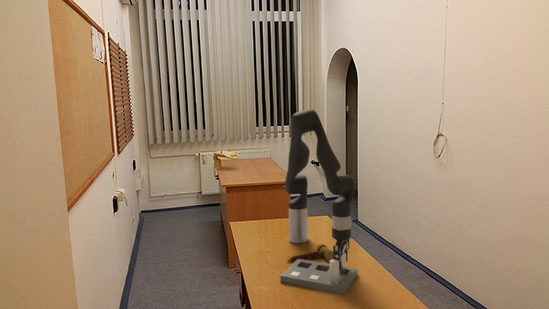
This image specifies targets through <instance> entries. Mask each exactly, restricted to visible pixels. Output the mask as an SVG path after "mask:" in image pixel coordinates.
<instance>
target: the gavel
mask: <svg viewBox="0 0 549 309" xmlns="http://www.w3.org/2000/svg"><path fill="white" fill-rule="evenodd" d="M318 257H324V259H325V260H326V261H330V260H332V259H333V249H330V248H329V247H327V245H326V244H324V243H320V244H318V245H317V246H316V251H311V252H308V253H303V254H299V255H294V256H292V257H291V258H289V259H287V260H286V261H287V262H288V263H289V262H290V263H294V262H295V261H296V260H297V259H303V260H311V259H315V258H318Z"/></svg>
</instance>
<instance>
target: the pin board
mask: <svg viewBox="0 0 549 309" xmlns="http://www.w3.org/2000/svg"><path fill="white" fill-rule="evenodd" d="M357 275H358V268H356V267H349V266H346V275H343V274H339V260H336V259H332V260H329V263H326V262H321V261H315V260H314V261H313V260H310V259H307V260H303V259H297V260H296V261H295V262H292V264H291V265H290V266H289V267H288V268H286V270H284V271H283V272H282V273H281V274H280V277H279V281H280V282H281V283H286V284H291V285H296V286H302V287H306V288H312V289H316V290H322V291H326V292H332V293H337V294H342V295H345V294H346V292H347V291H349V288H350V287H351V285H352V283H353V282H354V280H355V279H356V277H357Z"/></svg>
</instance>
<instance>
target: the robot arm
mask: <svg viewBox="0 0 549 309" xmlns="http://www.w3.org/2000/svg"><path fill="white" fill-rule="evenodd" d="M311 132H314V134H315V136H316V141H317V142H316V149H315V150H316V151H315V152H316V154H315V156H316V159H317V161H318V164H319V165H320V167H321V169H322V171H323V174H324V178H325V183H326V187H327V189H328V191H329V192H330V193H331V194H332V195H334V196H338V197H337V198H336V199H334V201H333V202H332V206H331V207H332V217H331V237H332V238H333V240H335V241H336V242H335V244H334V245H333V247H332V251H333V259H336V260H339V270H341V260H342V256H343V255H344V252H345V253H346V263H347V262H348V258H349V257H348V254H349V253H348V252H349V250H350V240H351V238H352V215H351V211H352V208H351V207H352V206H351V204H352V202H353V197H354V195H355V194H354V193H355V189H356V183H355V180H354V178H353V177H352V176H351V175H349V174H345V175H339V176H338V174H337V173H339V171H340V170H341V167H342V166H341V163H340V162H339V159H338V158H337V156H336V154H335V152H334V151H333V149H332V146H331V145H330V142H329V140H328V137H327V134H326V131H325V128H324V126H323V124H322V121H321V118H320V116H319V114H318V113H317V111H315V110H314V109H312V108H309V109H306V110H305V109H304V110H301V111H298V112H295V113H294V114H292V116H291V118H290V142H289V143H290V144H289V150H288V151H289V152H288V163H287V164H288V165H287V172H286V177H285V182H284V183H285V184H284V188H285V191H286V194H288V195H298V196H297V197H296V198H293V199H291V200H289V201H288V236H289V237H288V238H289V239H288V240H289V242H290V243H294V244H303V243H306V242H308V239H309V238H308V185H309V183H308V178H307V176H306V175H304V174H302V175H301V174H300V173H301V172H302V171H304V170H305V168H306V167H307V165H308V163H309V160H310V154H311V153H310V148H309V146H308V145H307V144H306V142H304V140H303V139H302V137H303V135H304V134H307V133H311ZM299 174H300V175H299ZM337 255H338V257H337Z"/></svg>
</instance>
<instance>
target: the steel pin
mask: <svg viewBox="0 0 549 309" xmlns="http://www.w3.org/2000/svg"><path fill="white" fill-rule="evenodd" d="M337 257H338V255H337ZM346 267H347V262H346V253H345V252H344V255H343V256H342V260H341V270H339V274H343V275H346Z"/></svg>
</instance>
